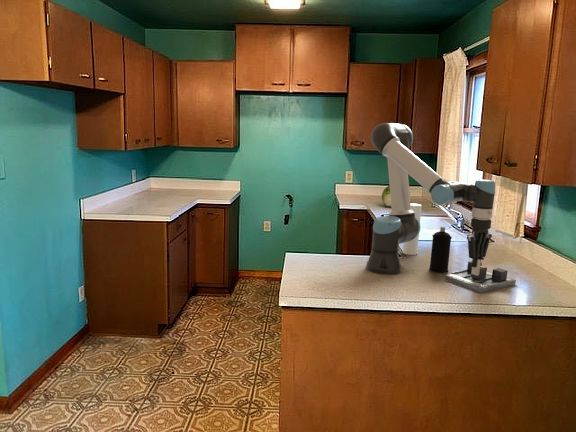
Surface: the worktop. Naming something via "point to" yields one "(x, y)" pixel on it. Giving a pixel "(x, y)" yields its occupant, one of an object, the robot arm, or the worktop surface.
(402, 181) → the robot arm
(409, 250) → the cylindrical container
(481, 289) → the panel
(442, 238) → the aerosol can
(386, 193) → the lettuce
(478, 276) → the breaker handle
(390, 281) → the worktop surface
